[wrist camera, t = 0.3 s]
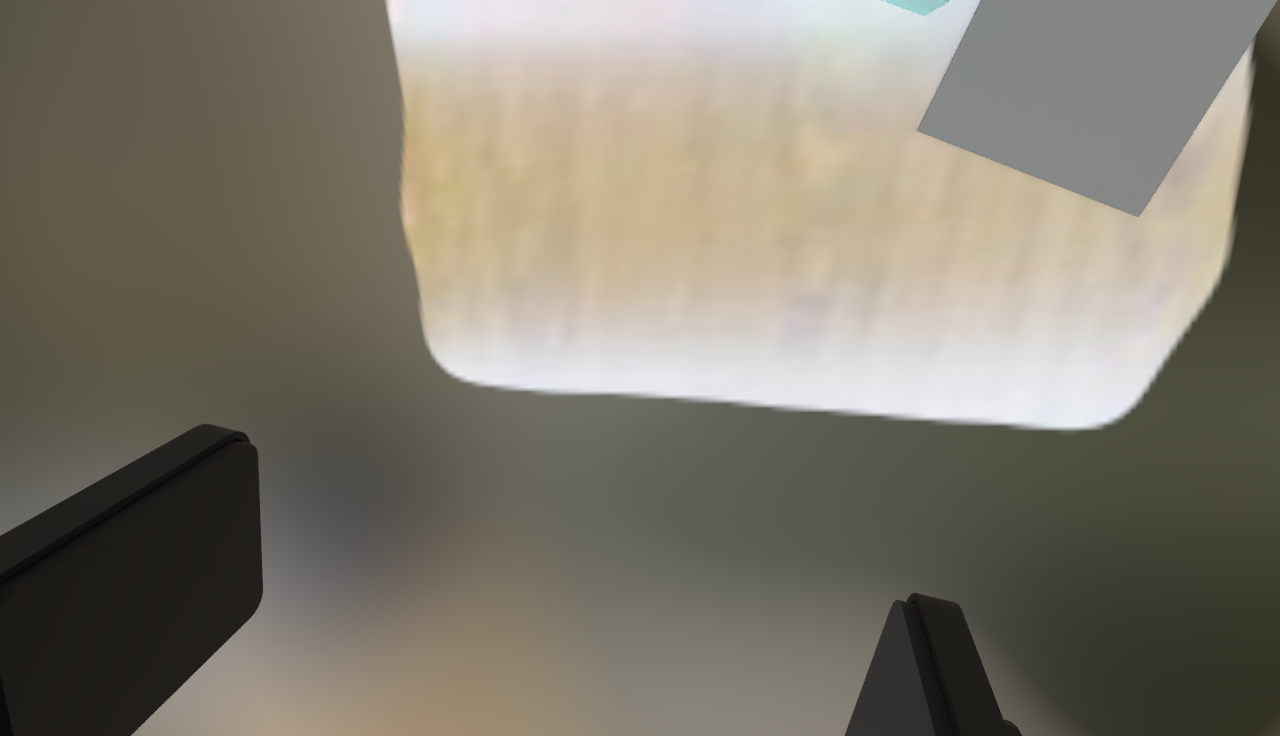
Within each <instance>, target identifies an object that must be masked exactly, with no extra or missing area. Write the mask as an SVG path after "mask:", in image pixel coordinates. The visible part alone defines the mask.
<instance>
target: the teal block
mask: <svg viewBox="0 0 1280 736" xmlns="http://www.w3.org/2000/svg"><path fill="white" fill-rule="evenodd" d="M883 1H885V2H888V3H890V4H893V5H896V6H898V7H901V8H903V9H906V10H909V11H911V12H914V13H916V14H919V15H922V16H925V15H927V14H928V13H930V12H932V11H934V10H935V9H937V8H939V7H941V6H942V5H944V4H946V3H948V2H949V0H883Z"/></svg>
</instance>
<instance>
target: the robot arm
mask: <svg viewBox="0 0 1280 736" xmlns="http://www.w3.org/2000/svg"><path fill="white" fill-rule="evenodd" d="M260 526H261V525H260V500H259V471H258V453H257V449H256V448H255V446H253V445H252V444H250V440H249V438H248V437H247V435H246V434H244V433H243V432H240V431H236V430H232V429H227V428H223V427H219V426H215V425H211V424H202V425H199V426H196V427H195V428H193V429H191V430H189V431H187V432H185V433H184V434H182V435H180V436H178V437H177V438H175V439H173V440H171V441H169V442H168V443H166V444H164V445H162V446H160V447H159V448H157V449H155V450H153V451H151V452H150V453H148V454H146V455H144V456H143V457H141V458H139V459H137V460H136V461H134V462H132V463H130V464H128V465H126V466H125V467H123V468H121V469H119V470H118V471H116V472H114V473H112V474H110V475H109V476H107V477H105V478H103V479H101V480H100V481H98V482H96V483H94V484H92V485H91V486H89V487H87V488H85V489H84V490H82V491H80V492H78V493H76V494H75V495H73V496H71V497H69V498H68V499H66V500H64V501H62V502H60V503H58V504H57V505H55V506H53V507H51V508H49V509H48V510H46V511H44V512H43V513H41V514H39V515H37V516H35V517H33V518H32V519H30V520H28V521H26V522H25V523H23V524H21V525H19V526H17V527H16V528H14V529H12V530H10V531H8V532H7V533H5V534H3V535H1V536H0V736H131V735H132V734H133V733H134V732H135V731H136V730H137V729H138V728H139V727H140V726H141V725H142V724H143V723H144V722H145V721H146V720H147V719H148V718H149V717H150V716H151V715H152V714H153V713H154V712H155V711H156V710H157V709H158V708H159V707H160V706H161V705H162V704H163V703H164V702H165V701H166V700H167V699H168V698H170V696H172V695H173V693H174V692H176V691H177V690H178V689H179V688H180V687H181V686H182V685H183V683H185V682H186V681H187V680H188V679H189V678H190V677H191V676H192V675H193V674H194V673H195V672H196V671H197V670H198V669H199V668H200V667H201V666H202V665H203V664H204V663H205V662H206V661H207V660H208V659H209V658H210V657H211V656H212V655H213V654H214V653H215V652H216V651H217V650H218V649H219V648H220V647H221V646H222V645H223V644H224V643H225V642H226V641H227V640H228V639H229V638H230V637H231V636H232V635H233V634H234V633H236V632H237V630H238V629H240V628H241V627H242V626H243V625H244V624H245V623H246V622H247V621H248V620H249V619H250V618H251V617H252V615H253V614H254V613H255V611H256V610H257V608H258V606H259V603H260V602H261V598H262V594H263V580H262V553H261V552H262V551H261V527H260ZM845 736H1022V735H1021V733H1020V731H1019V729H1018V727H1016V726H1015V725H1014V724H1013V723H1012V722H1010V721H1007V720H1003V718H1002V715H1001V712H1000V710H999V707H998V705H997V702H996V699H995V696H994V694H993V691H992V688H991V686H990V683H989V681H988V678H987V675H986V673H985V670H984V667H983V665H982V662H981V659H980V657H979V654H978V652H977V649H976V646H975V644H974V641H973V638H972V636H971V633H970V631H969V628H968V625H967V622H966V620H965V618H964V615H963V612H962V610H961V608H960V606H959V604H957V603H955V602H951V601H947V600H943V599H939V598H935V597H930V596H927V595H922V594H918V593H913V594H911V595H910V596H909V598H908V600H907V602H904V601H901V600H896V601H895V602H894V603H893V605H892V607H891V609H890V612H889V615H888V617H887V620H886V623H885V626H884V629H883V631H882V634H881V637H880V639H879V642H878V645H877V648H876V651H875V654H874V656H873V659H872V662H871V664H870V667H869V670H868V673H867V675H866V678H865V681H864V684H863V686H862V689H861V692H860V695H859V698H858V700H857V703H856V706H855V709H854V711H853V714H852V717H851V720H850V722H849V725H848V728H847V731H846V733H845Z"/></svg>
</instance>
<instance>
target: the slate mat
mask: <svg viewBox="0 0 1280 736" xmlns="http://www.w3.org/2000/svg"><path fill="white" fill-rule="evenodd" d="M1276 2H1277V0H981V1H980V3H979V5H978V7H977V9H976V11H975V13H974V16H973V18H972V20H971V22H970V24H969V26H968V28H967V30H966V32H965V34H964V36H963V38H962V40H961V42H960V44H959V46H958V48H957V50H956V52H955V54H954V56H953V58H952V60H951V62H950V65H949V67H948V69H947V71H946V73H945V75H944V77H943V79H942V81H941V83H940V85H939V87H938V89H937V91H936V93H935V95H934V97H933V99H932V101H931V103H930V105H929V107H928V109H927V111H926V113H925V116H924V118H923V120H922V122H921V124H920V126H919V128H918V130H917V131H919V132H921V133H924V134H927V135H929V136H932V137H934V138H937V139H939V140H942V141H945V142H947V143H950V144H952V145H955V146H957V147H960V148H962V149H965V150H968V151H970V152H973V153H975V154H978V155H980V156H983V157H986V158H988V159H991V160H993V161H996V162H998V163H1001V164H1003V165H1006V166H1009V167H1011V168H1014V169H1016V170H1019V171H1021V172H1024V173H1027V174H1029V175H1032V176H1034V177H1037V178H1039V179H1042V180H1045V181H1047V182H1050V183H1052V184H1055V185H1057V186H1060V187H1062V188H1065V189H1068V190H1070V191H1073V192H1075V193H1078V194H1080V195H1083V196H1086V197H1088V198H1091V199H1093V200H1096V201H1098V202H1101V203H1104V204H1106V205H1109V206H1111V207H1114V208H1116V209H1119V210H1121V211H1124V212H1127V213H1129V214H1132V215H1134V216H1137V217H1139V216H1140V215H1141V213H1142V212H1143V210H1144V208H1145V207H1146V205H1147V204H1148V202H1149V201H1150V199H1151V197H1152V196H1153V194H1154V193H1155V191H1156V190H1157V188H1158V186H1159V185H1160V183H1161V182H1162V180H1163V179H1164V177H1165V176H1166V174H1167V172H1168V171H1169V169H1170V168H1171V166H1172V165H1173V163H1174V161H1175V160H1176V158H1177V157H1178V155H1179V154H1180V152H1181V150H1182V149H1183V147H1184V146H1185V144H1186V143H1187V141H1188V139H1189V138H1190V136H1191V135H1192V133H1193V132H1194V130H1195V129H1196V127H1197V125H1198V124H1199V122H1200V121H1201V119H1202V118H1203V116H1204V114H1205V113H1206V111H1207V110H1208V108H1209V107H1210V105H1211V103H1212V102H1213V100H1214V99H1215V97H1216V96H1217V94H1218V92H1219V91H1220V89H1221V88H1222V86H1223V85H1224V83H1225V82H1226V80H1227V78H1228V77H1229V75H1230V74H1231V72H1232V71H1233V69H1234V67H1235V66H1236V64H1237V63H1238V61H1239V60H1240V58H1241V56H1242V55H1243V53H1244V52H1245V50H1246V49H1247V47H1248V45H1249V44H1250V42H1251V41H1252V39H1253V38H1254V36H1255V35H1256V33H1257V31H1258V30H1259V28H1260V27H1261V25H1262V24H1263V22H1264V20H1265V19H1266V17H1267V16H1268V14H1269V12H1270V11H1271V9H1272V8H1273V6H1274V5H1275V3H1276Z"/></svg>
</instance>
